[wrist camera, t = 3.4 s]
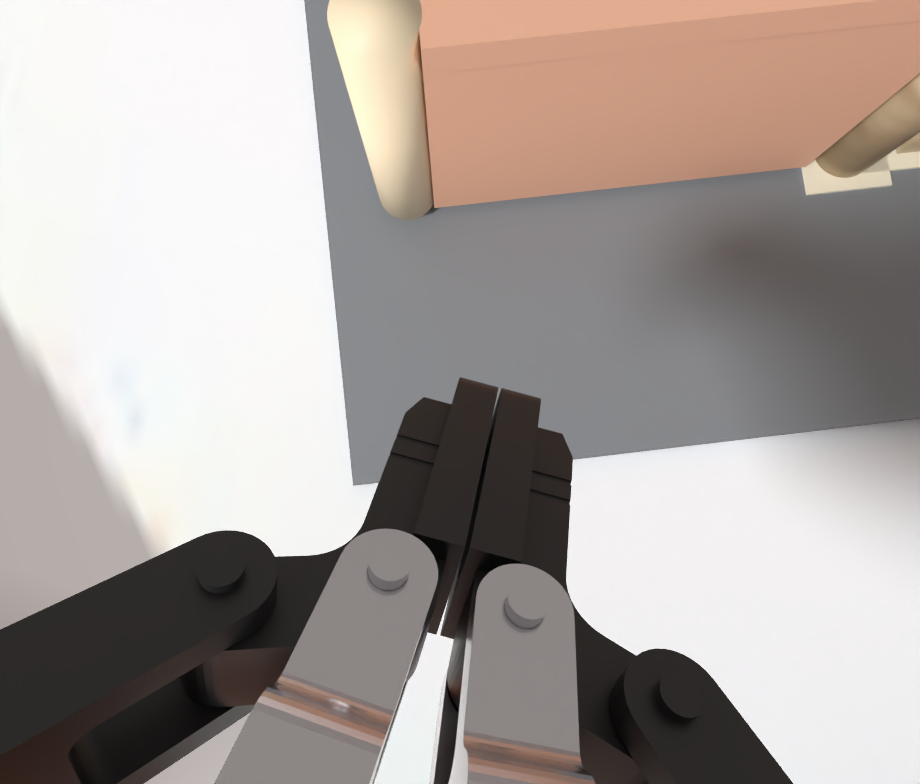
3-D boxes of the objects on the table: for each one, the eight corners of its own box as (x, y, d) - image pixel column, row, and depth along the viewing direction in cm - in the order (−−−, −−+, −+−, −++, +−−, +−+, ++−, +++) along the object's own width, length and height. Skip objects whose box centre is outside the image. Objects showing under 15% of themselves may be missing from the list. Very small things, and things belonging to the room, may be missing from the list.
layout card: (1214, 383, 21) (1233, 381, 21) (355, 484, 21) (352, 485, 20) (1079, -200, 23) (1093, -215, 23) (294, -121, 23) (290, -134, 22)
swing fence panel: (807, 175, 21) (1043, -13, 12) (382, 223, 21) (331, 63, 12) (797, 122, 21) (1024, -98, 13) (376, 168, 21) (322, -26, 12)
